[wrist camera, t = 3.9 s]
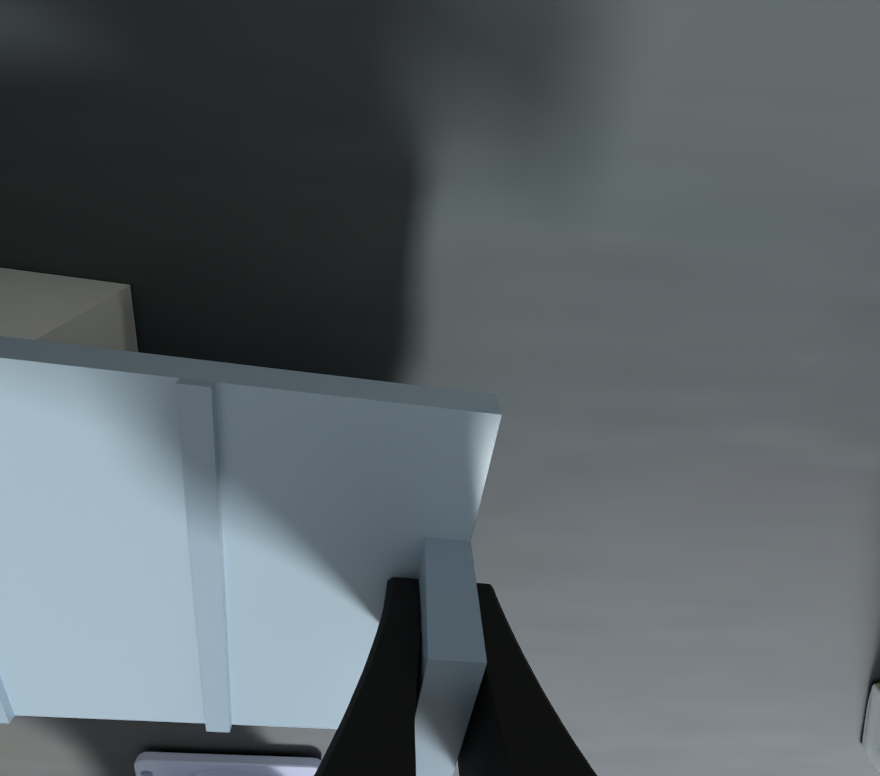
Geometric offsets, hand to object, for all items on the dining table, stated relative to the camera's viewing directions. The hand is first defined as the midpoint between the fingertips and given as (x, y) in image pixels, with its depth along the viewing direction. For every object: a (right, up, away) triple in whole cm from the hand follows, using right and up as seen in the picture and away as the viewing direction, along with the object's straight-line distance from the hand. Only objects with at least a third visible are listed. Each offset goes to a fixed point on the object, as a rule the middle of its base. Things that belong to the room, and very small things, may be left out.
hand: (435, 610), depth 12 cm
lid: (-8, +1, 0) cm, 8 cm away
